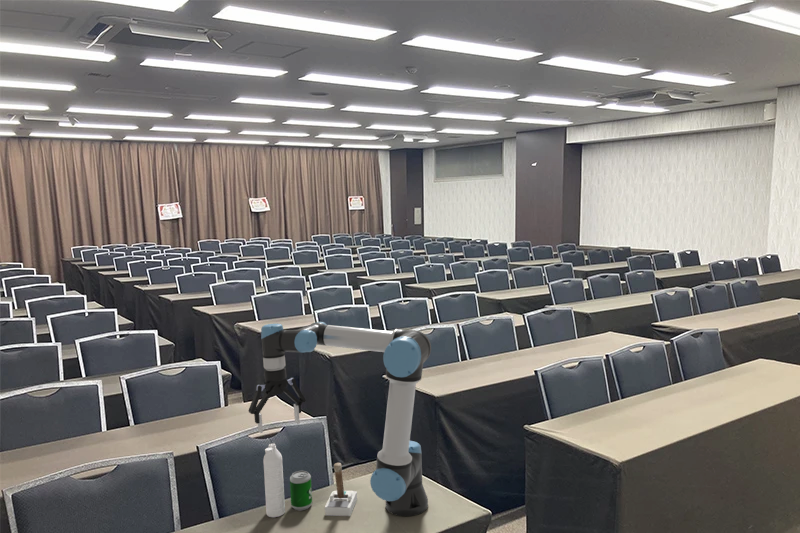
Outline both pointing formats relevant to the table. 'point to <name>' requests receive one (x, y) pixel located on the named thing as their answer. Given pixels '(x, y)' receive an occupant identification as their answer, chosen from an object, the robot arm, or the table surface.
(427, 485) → the table surface
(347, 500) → the switch box
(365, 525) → the table surface
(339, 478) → the lever
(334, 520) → the table surface
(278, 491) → the water bottle
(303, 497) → the soda can
